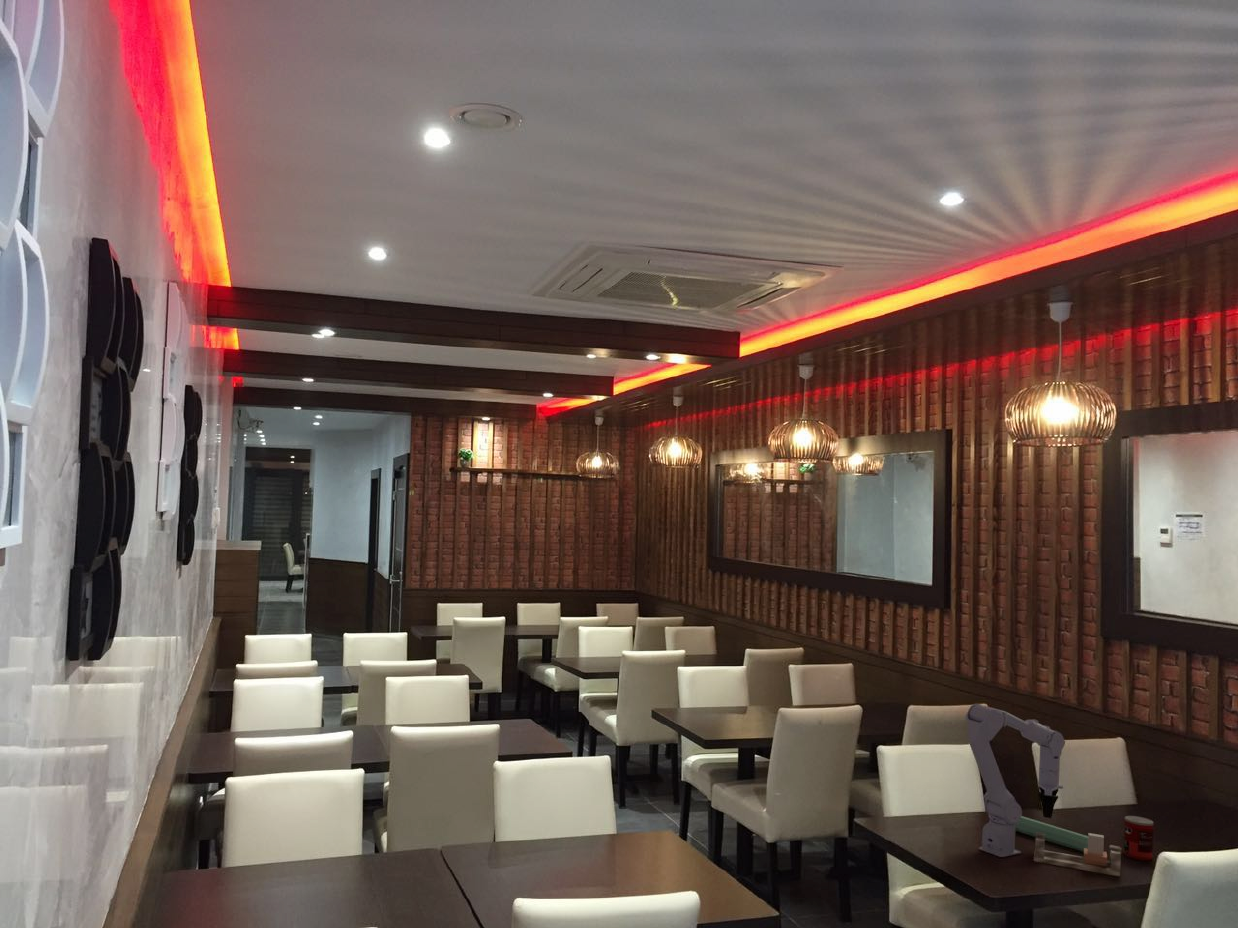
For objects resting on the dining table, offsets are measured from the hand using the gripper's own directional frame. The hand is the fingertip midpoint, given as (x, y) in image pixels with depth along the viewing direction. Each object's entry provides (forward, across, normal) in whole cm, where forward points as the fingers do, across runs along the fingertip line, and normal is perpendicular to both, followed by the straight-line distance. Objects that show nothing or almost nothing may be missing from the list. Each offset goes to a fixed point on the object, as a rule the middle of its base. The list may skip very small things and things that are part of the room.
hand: (1047, 814), depth 310 cm
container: (+11, +10, -2) cm, 15 cm away
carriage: (+9, -11, -13) cm, 19 cm away
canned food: (+11, +9, -26) cm, 29 cm away
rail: (+10, -11, -8) cm, 17 cm away
